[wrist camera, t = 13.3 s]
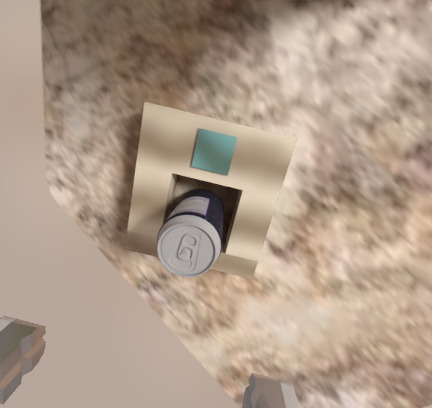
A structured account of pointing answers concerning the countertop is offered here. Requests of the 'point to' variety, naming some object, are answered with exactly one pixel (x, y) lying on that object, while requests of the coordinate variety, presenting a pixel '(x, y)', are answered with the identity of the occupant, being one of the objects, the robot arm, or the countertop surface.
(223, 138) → the socket board
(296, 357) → the countertop surface
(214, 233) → the beverage can
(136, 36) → the countertop surface
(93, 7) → the countertop surface
